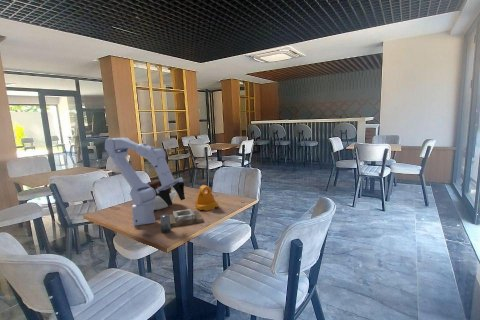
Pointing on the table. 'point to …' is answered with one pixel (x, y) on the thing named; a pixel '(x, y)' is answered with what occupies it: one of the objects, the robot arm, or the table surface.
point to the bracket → (205, 199)
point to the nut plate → (185, 217)
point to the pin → (165, 223)
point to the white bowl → (158, 201)
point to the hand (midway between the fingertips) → (176, 202)
